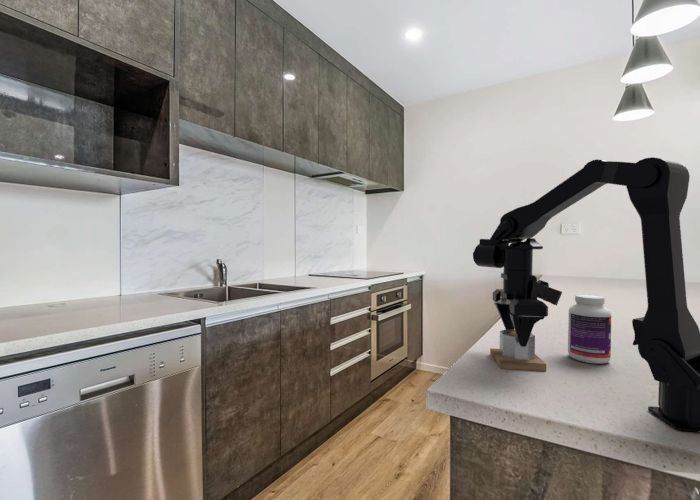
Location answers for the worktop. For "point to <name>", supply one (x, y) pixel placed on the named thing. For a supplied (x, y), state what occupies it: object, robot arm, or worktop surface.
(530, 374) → the worktop surface
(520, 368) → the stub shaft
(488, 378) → the worktop surface
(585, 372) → the worktop surface
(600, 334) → the pill bottle
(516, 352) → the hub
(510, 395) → the worktop surface
